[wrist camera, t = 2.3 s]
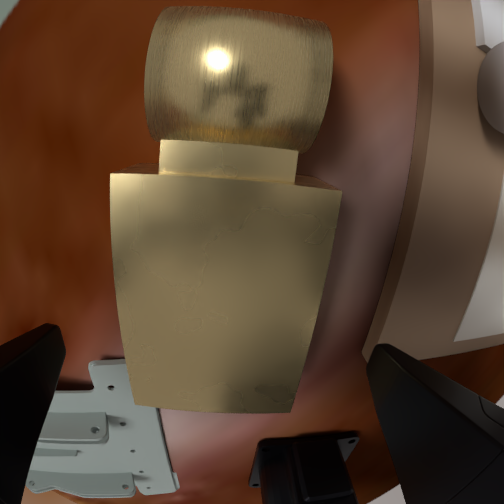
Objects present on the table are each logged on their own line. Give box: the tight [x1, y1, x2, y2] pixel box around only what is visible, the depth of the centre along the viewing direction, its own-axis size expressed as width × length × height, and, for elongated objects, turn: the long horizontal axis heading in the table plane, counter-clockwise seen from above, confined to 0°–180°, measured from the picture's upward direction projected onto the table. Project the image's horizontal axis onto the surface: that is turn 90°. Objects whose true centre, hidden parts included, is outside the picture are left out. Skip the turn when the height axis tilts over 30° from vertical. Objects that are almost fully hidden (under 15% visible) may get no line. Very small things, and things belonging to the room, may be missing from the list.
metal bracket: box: [26, 359, 179, 498], centre depth 14 cm, size 14×6×15 cm
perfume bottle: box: [110, 6, 342, 413], centre depth 9 cm, size 13×6×4 cm, turn 174°
